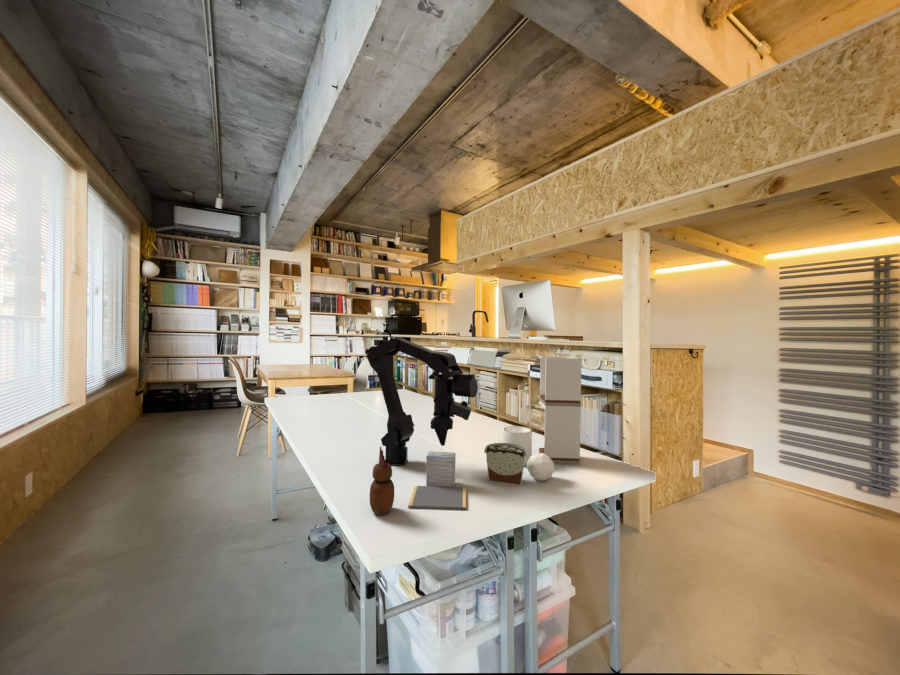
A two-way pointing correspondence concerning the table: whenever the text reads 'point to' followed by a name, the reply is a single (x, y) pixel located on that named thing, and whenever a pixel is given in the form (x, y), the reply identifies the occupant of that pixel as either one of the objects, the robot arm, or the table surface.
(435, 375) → the robot arm
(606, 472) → the table surface
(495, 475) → the multicoloured piece
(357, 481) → the table surface
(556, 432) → the stacked beige boxes
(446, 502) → the mat
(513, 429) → the mug
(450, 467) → the medicine box
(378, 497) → the wooden figurine
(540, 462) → the geometric ball
